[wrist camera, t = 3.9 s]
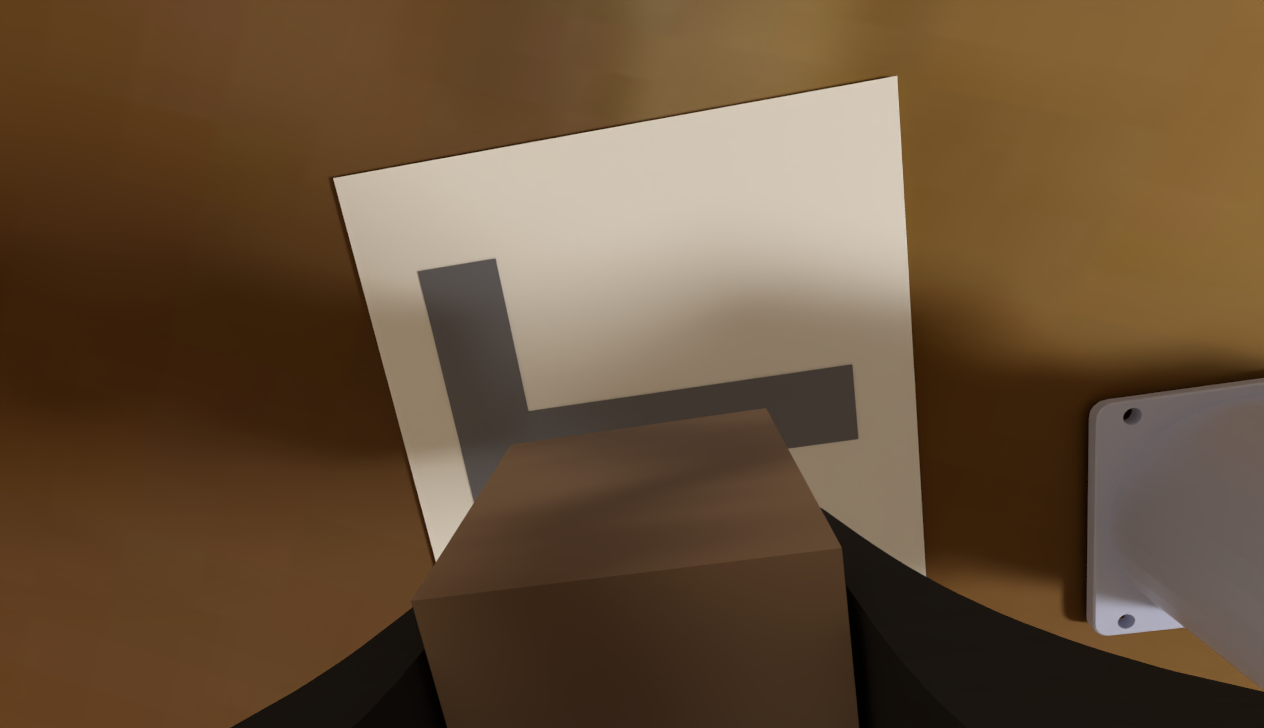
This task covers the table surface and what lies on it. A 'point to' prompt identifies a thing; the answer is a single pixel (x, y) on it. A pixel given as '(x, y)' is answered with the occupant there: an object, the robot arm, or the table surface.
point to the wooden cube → (643, 587)
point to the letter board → (656, 296)
